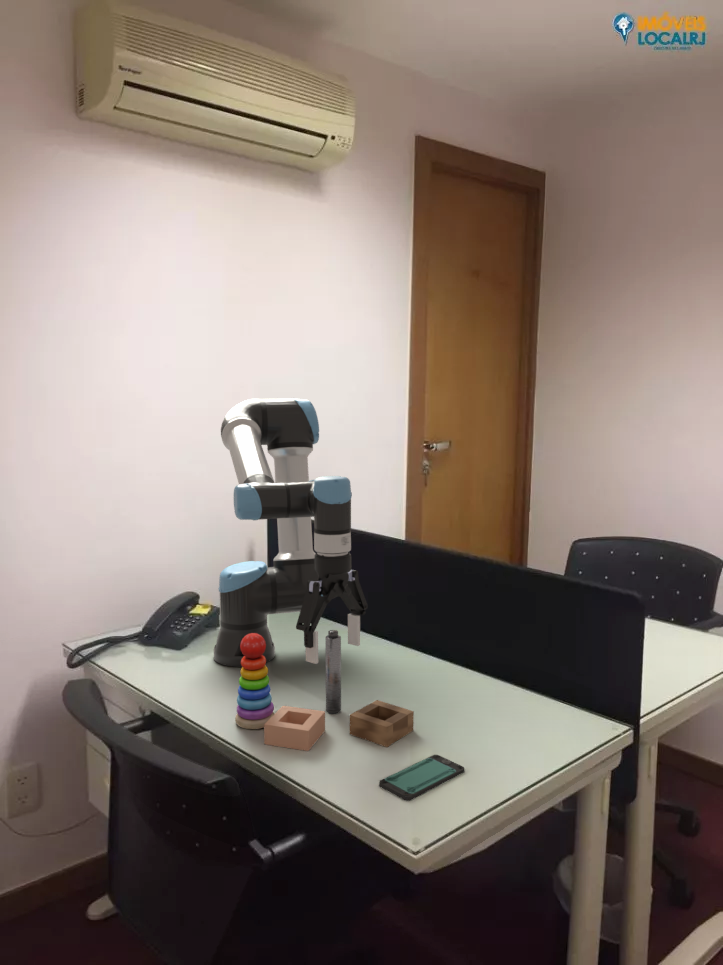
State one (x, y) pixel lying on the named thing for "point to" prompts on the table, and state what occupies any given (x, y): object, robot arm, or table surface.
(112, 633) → the table surface
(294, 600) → the robot arm
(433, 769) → the smartphone
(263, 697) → the stacking toy
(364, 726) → the brown wooden square holder
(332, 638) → the grey capped cylinder
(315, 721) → the pink square socket block
